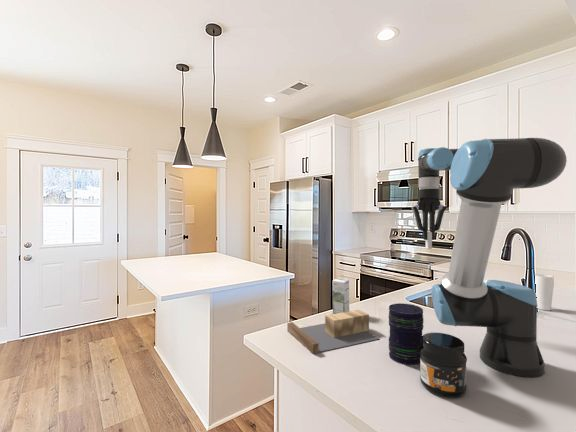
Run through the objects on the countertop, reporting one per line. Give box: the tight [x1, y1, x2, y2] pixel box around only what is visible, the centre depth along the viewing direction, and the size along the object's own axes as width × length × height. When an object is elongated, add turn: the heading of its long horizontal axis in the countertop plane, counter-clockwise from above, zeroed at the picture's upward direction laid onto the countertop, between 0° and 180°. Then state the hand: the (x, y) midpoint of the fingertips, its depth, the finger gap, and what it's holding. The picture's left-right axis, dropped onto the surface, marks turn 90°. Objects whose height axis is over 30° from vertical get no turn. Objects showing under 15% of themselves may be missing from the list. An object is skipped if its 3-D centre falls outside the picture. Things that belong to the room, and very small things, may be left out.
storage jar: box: [388, 303, 425, 366], centre depth 92 cm, size 10×10×15 cm
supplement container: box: [419, 332, 468, 398], centre depth 77 cm, size 10×10×12 cm
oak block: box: [324, 309, 370, 338], centre depth 112 cm, size 6×6×15 cm
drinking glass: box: [534, 273, 555, 312], centre depth 135 cm, size 7×7×15 cm
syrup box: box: [332, 277, 350, 314], centre depth 133 cm, size 6×6×14 cm
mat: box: [299, 323, 380, 354], centre depth 110 cm, size 24×20×1 cm
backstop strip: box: [286, 321, 319, 355], centre depth 104 cm, size 2×20×3 cm, turn 24°
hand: (428, 248), depth 121 cm, fingers closed
